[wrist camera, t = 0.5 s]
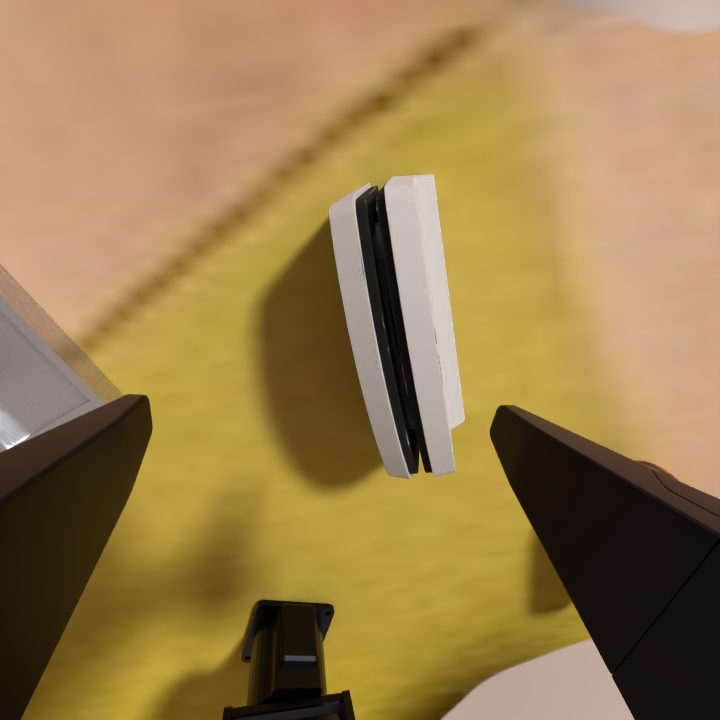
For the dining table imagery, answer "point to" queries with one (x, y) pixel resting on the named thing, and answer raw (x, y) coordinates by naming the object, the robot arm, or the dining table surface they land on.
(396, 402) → the white slotted device
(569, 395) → the dining table surface
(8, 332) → the grey rectangular piece
